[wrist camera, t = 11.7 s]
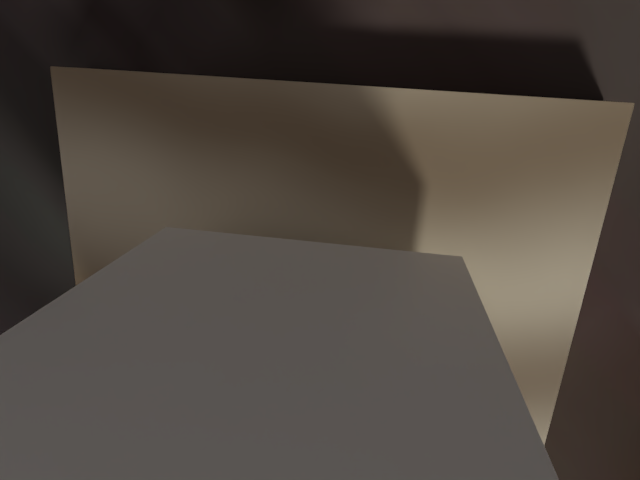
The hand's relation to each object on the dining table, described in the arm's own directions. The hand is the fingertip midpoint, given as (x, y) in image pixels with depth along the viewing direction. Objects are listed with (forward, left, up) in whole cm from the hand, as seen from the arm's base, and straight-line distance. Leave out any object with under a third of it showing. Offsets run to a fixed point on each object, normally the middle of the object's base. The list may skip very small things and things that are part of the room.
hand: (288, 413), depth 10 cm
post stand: (0, 0, -5) cm, 5 cm away
